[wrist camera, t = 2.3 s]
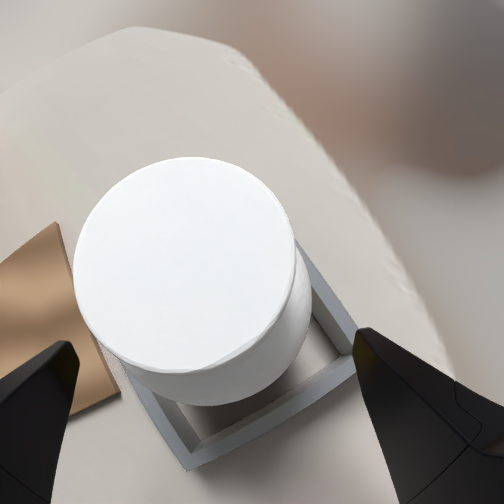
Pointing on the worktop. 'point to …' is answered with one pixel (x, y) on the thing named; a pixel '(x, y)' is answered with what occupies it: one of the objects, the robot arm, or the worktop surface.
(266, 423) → the bin
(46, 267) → the tan cardboard sheet
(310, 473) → the worktop surface
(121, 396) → the worktop surface
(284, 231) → the supplement bottle
